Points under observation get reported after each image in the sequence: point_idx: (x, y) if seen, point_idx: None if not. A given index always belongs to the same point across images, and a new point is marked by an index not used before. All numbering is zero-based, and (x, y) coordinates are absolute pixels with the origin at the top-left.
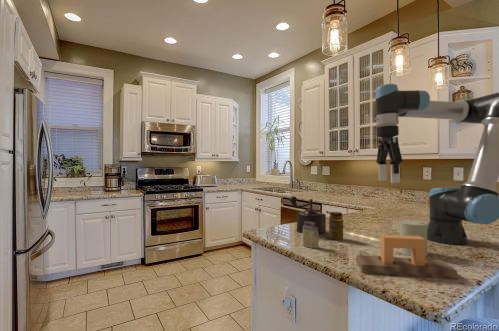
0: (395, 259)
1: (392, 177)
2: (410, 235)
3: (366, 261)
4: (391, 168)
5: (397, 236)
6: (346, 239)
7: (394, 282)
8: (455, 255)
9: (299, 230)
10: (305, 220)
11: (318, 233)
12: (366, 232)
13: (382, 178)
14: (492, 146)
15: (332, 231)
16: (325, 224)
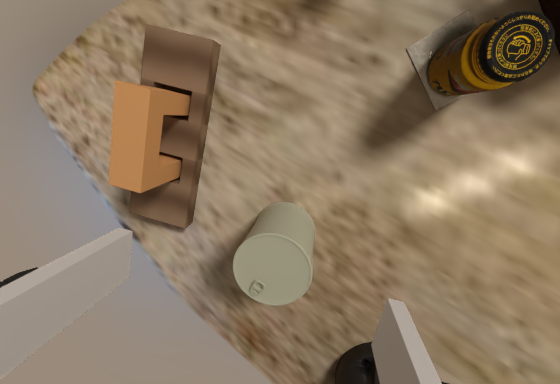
0: (183, 129)
1: (86, 248)
2: (252, 229)
3: (166, 46)
4: (8, 285)
5: (131, 128)
6: (436, 107)
7: (115, 79)
8: (262, 304)
9: None
10: None
11: (548, 15)
12: (517, 224)
13: (383, 330)
14: None
15: (453, 41)
16: None
